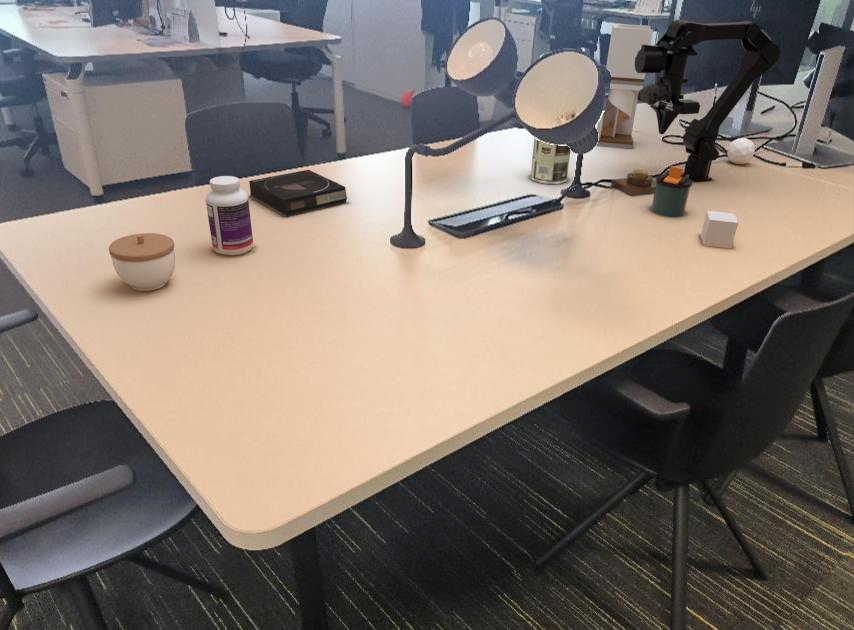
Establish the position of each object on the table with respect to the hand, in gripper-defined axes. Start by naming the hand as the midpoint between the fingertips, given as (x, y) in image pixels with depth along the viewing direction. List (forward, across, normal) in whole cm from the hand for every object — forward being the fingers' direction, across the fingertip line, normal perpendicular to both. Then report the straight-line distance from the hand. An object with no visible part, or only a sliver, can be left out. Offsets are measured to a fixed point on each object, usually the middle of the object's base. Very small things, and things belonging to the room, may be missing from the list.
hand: (661, 133), depth 191 cm
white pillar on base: (+13, -36, +13) cm, 40 cm away
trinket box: (+13, +24, -135) cm, 138 cm away
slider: (+4, +24, -16) cm, 29 cm away
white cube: (+13, +43, -17) cm, 48 cm away
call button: (+9, +6, -10) cm, 15 cm away
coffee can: (+13, -9, -29) cm, 33 cm away
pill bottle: (+13, +13, -118) cm, 119 cm away
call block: (+12, +6, -10) cm, 17 cm away
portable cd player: (+13, -12, -98) cm, 100 cm away
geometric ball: (+13, -5, +37) cm, 39 cm away
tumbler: (+12, +23, -14) cm, 30 cm away
